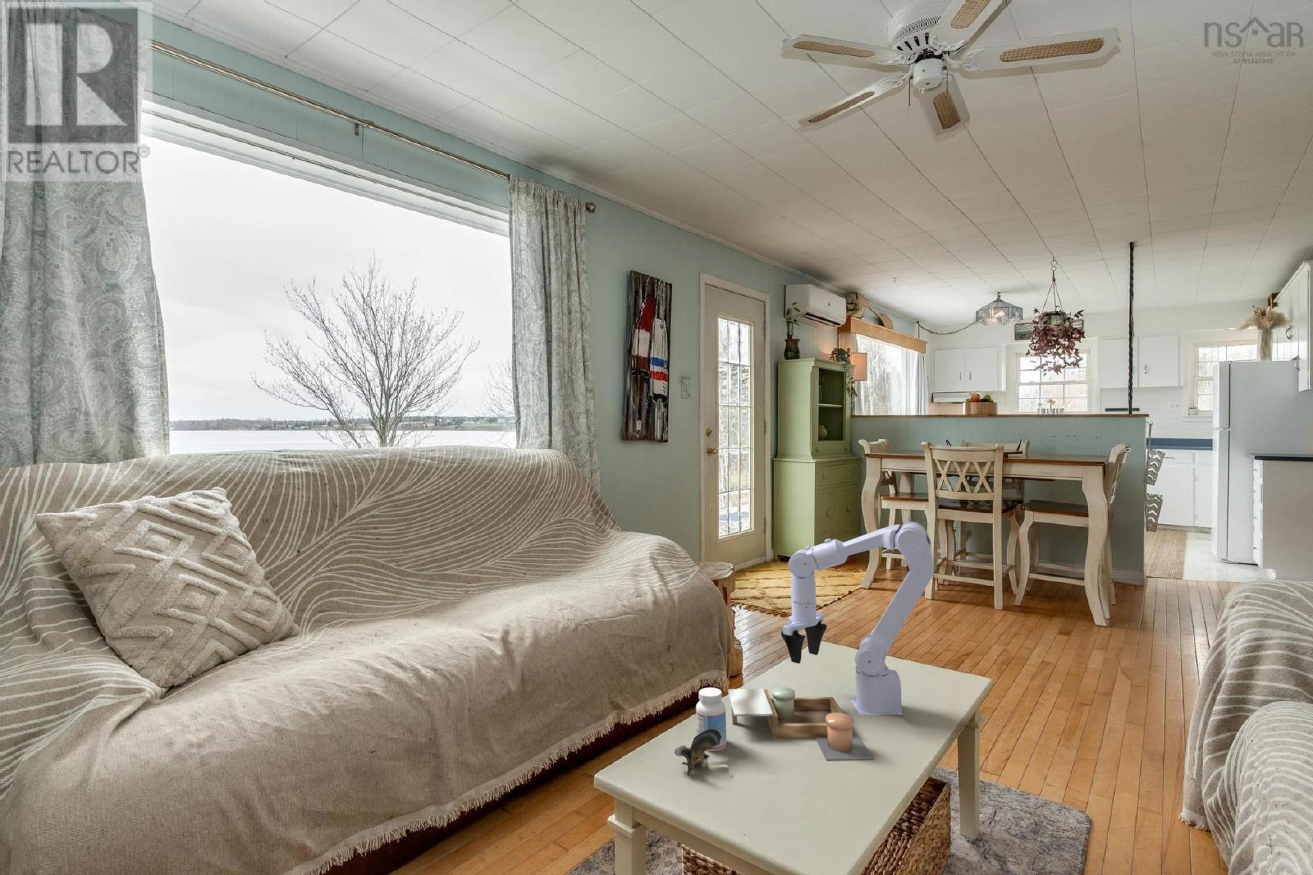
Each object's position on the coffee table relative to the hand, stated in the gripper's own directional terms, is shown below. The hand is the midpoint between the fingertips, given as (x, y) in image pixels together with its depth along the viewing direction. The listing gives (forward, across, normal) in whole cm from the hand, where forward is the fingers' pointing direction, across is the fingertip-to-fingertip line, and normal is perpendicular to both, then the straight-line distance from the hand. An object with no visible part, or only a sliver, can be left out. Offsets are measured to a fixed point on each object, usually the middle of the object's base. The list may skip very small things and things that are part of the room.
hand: (804, 658), depth 153 cm
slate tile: (+10, +16, +19) cm, 27 cm away
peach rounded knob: (+9, +16, +18) cm, 26 cm away
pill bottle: (+10, +32, -1) cm, 34 cm away
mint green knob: (+9, +12, +2) cm, 15 cm away
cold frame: (+10, +14, +4) cm, 18 cm away
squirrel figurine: (+10, +40, +2) cm, 41 cm away
